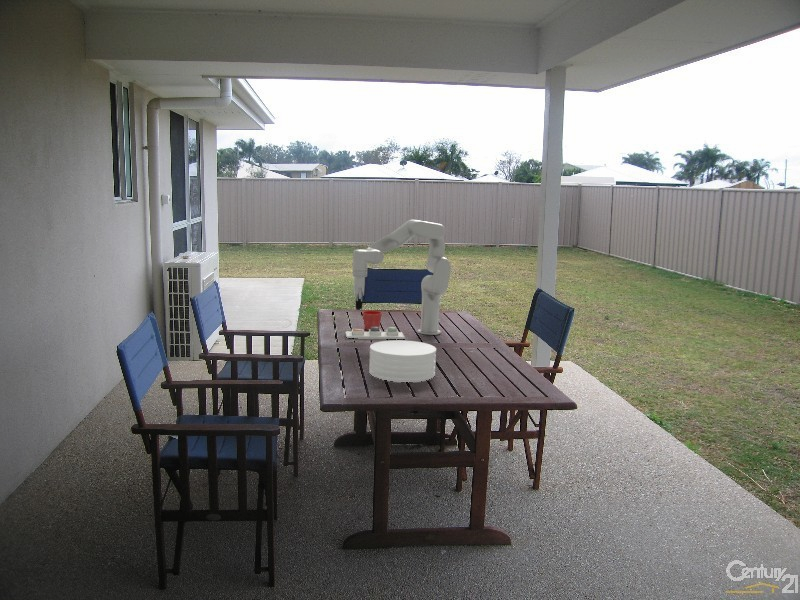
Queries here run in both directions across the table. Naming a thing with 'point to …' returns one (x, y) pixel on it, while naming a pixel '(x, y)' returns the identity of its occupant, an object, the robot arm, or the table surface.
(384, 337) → the button board
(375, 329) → the charcoal button
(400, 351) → the plate stack
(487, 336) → the table surface
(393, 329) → the sage button
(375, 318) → the flower pot
